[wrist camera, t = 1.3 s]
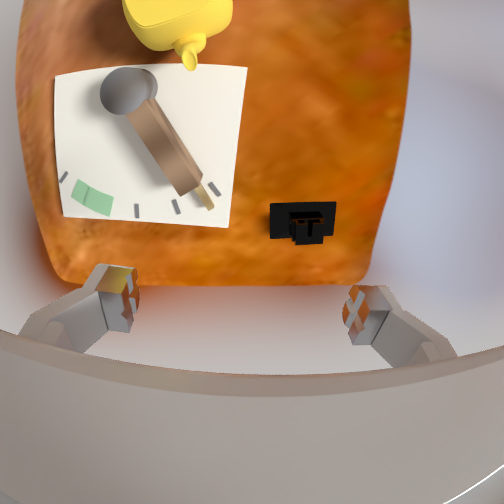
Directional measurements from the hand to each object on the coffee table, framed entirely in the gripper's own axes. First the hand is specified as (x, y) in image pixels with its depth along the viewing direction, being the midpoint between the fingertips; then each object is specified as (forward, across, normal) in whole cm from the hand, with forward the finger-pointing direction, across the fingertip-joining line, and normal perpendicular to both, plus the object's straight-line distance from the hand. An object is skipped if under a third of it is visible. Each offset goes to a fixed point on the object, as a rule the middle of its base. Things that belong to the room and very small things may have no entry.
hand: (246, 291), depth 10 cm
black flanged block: (+27, -10, +8) cm, 30 cm away
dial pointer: (+24, +8, -1) cm, 26 cm away
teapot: (+26, +8, -17) cm, 32 cm away
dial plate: (+26, +12, 0) cm, 29 cm away
